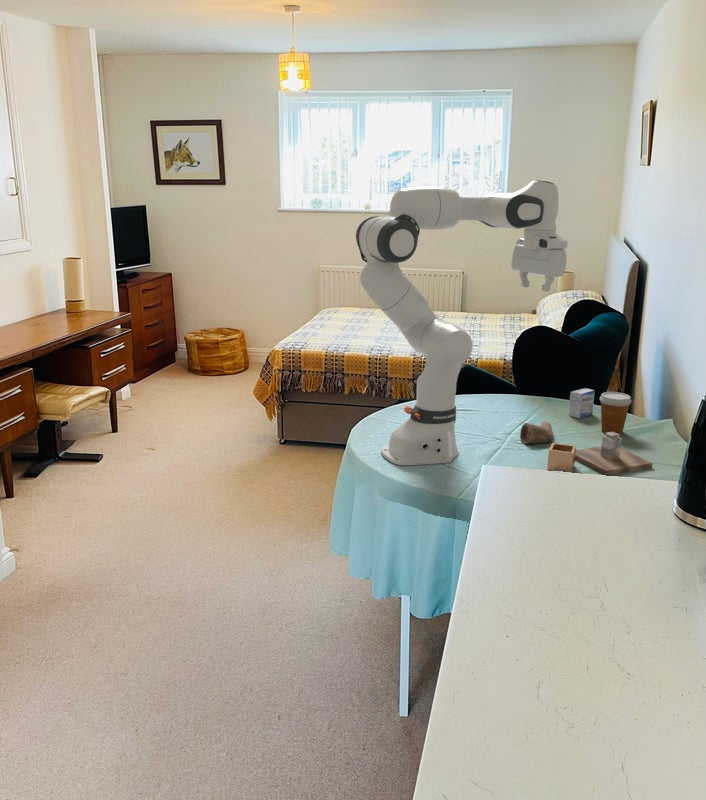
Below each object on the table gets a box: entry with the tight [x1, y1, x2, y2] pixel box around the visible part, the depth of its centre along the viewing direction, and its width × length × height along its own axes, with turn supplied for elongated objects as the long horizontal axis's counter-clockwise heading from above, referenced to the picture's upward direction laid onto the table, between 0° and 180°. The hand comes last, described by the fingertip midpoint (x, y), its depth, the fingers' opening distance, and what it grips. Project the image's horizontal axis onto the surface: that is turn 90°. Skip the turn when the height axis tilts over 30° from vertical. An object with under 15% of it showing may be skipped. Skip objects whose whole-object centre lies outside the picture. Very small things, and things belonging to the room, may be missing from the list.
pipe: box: [519, 421, 555, 445], centre depth 229 cm, size 6×17×10 cm
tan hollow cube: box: [546, 442, 577, 473], centre depth 204 cm, size 6×6×6 cm
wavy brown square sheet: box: [575, 432, 653, 476], centre depth 209 cm, size 16×16×8 cm
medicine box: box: [568, 387, 595, 419], centre depth 251 cm, size 8×4×9 cm, turn 129°
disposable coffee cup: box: [599, 391, 632, 435], centre depth 234 cm, size 10×10×12 cm
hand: (535, 289), depth 213 cm, fingers open, 8 cm apart
